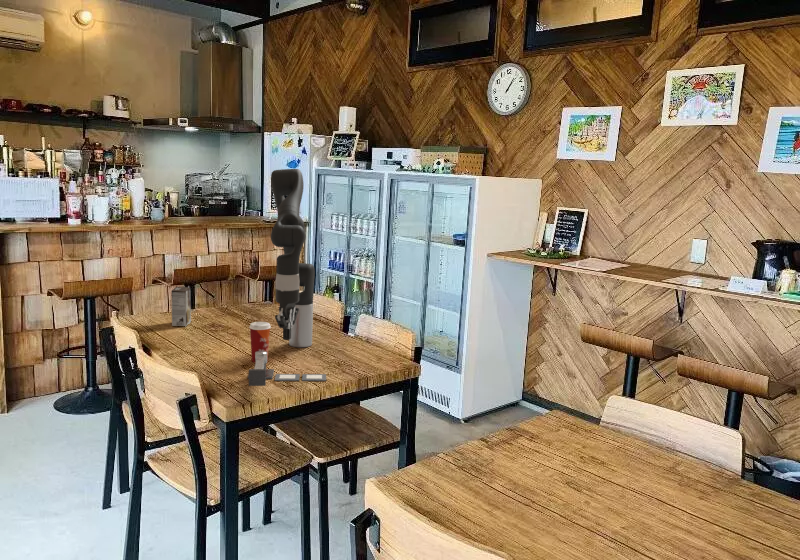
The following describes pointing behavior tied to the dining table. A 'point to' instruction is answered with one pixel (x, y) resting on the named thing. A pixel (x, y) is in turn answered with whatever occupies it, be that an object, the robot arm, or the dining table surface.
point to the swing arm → (258, 370)
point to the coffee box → (181, 306)
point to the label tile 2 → (314, 377)
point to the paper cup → (259, 337)
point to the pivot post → (268, 373)
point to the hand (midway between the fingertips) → (286, 339)
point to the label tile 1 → (287, 377)
